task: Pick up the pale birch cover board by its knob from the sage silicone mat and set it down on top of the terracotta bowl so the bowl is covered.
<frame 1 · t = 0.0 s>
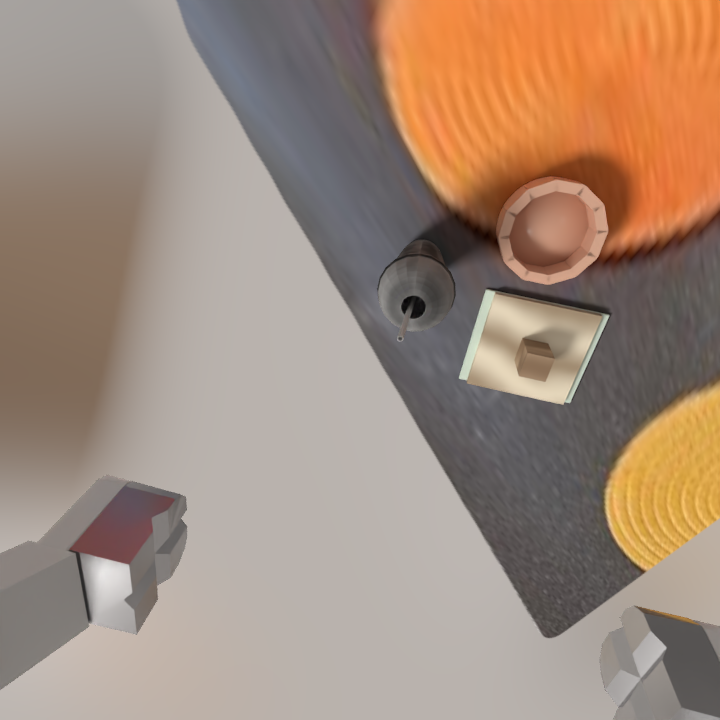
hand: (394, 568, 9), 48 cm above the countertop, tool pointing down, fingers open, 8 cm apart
bowl: (544, 226, 51), on the countertop
mat: (529, 347, 57), on the countertop
cover: (529, 348, 57), resting on mat
beverage cup: (421, 258, 55), on the countertop
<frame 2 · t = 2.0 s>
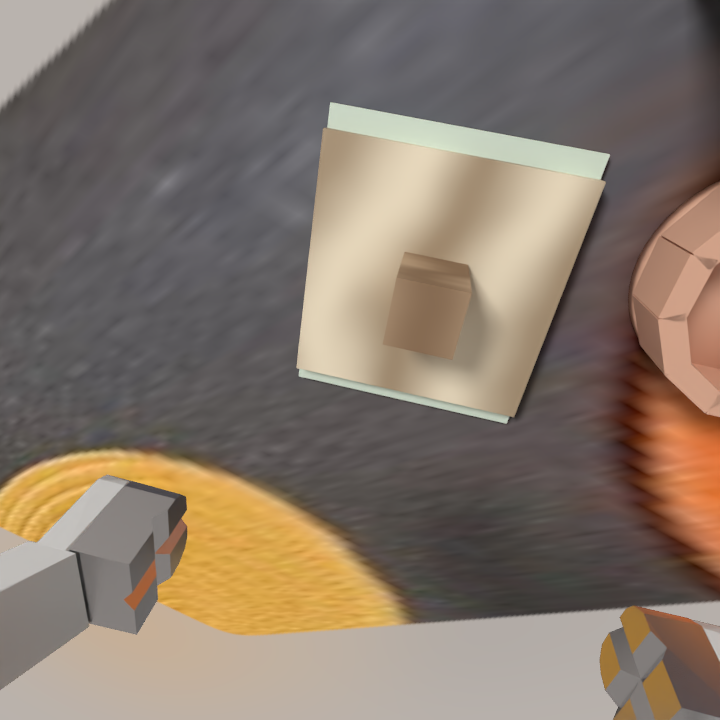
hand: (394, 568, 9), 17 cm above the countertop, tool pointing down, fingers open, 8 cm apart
mat: (429, 280, 24), on the countertop
cover: (429, 283, 23), resting on mat
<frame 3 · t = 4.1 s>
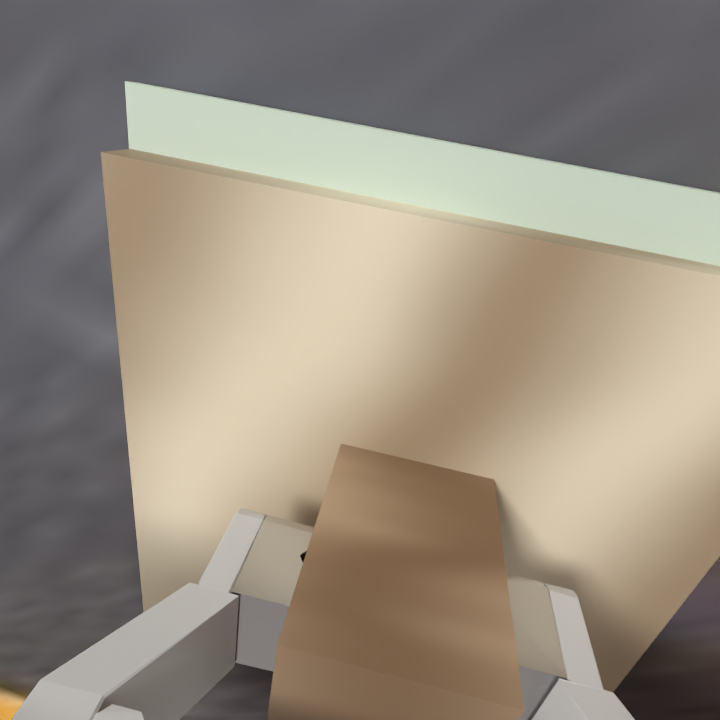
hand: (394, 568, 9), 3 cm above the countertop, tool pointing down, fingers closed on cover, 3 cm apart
mat: (404, 477, 11), on the countertop
cover: (403, 489, 11), resting on mat, touching gripper
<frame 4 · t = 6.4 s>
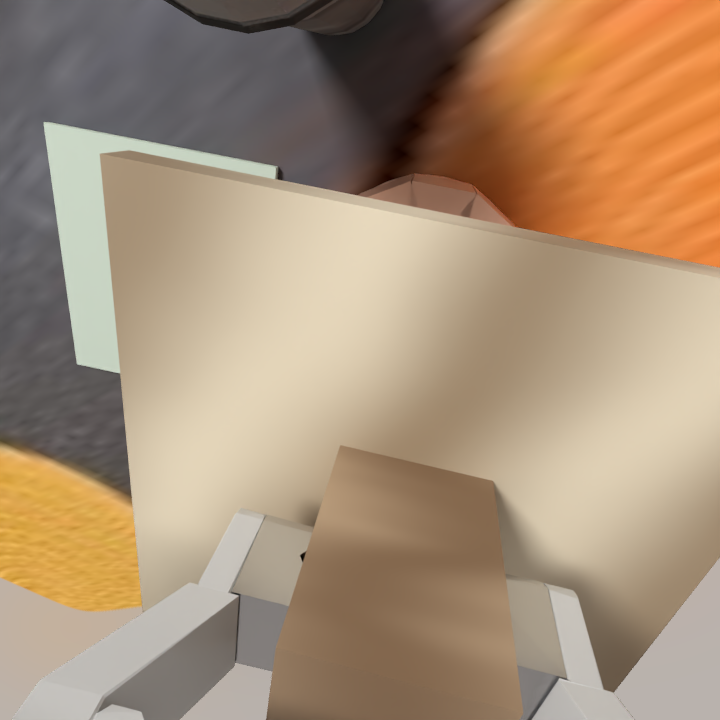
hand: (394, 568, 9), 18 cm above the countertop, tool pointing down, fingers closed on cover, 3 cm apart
bowl: (419, 275, 25), on the countertop
mat: (166, 276, 27), on the countertop
cover: (403, 490, 11), point 16 cm above the countertop, touching gripper
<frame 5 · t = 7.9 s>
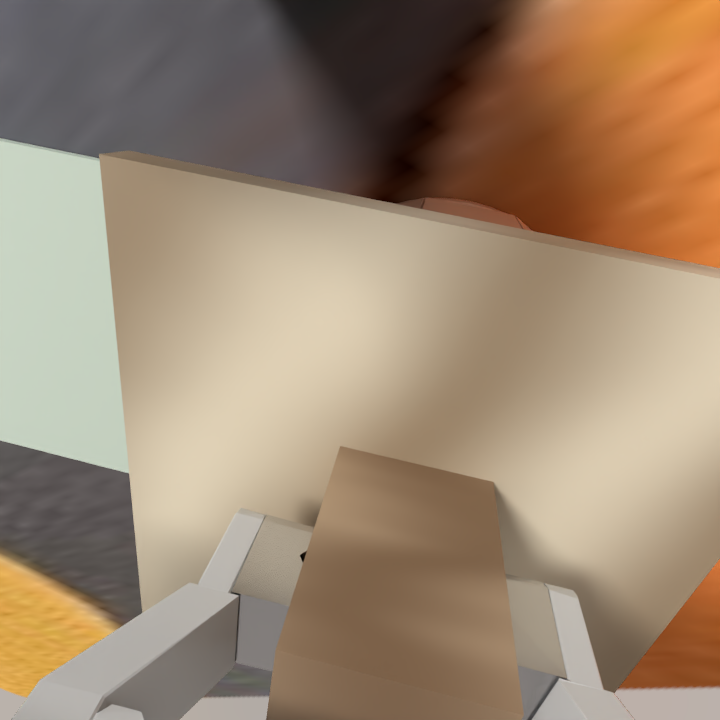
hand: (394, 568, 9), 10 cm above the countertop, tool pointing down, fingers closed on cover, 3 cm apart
bowl: (431, 341, 17), on the countertop
mat: (83, 331, 20), on the countertop
cover: (403, 491, 11), point 8 cm above the countertop, touching gripper
when the fingers open (8 cm above the countertop, at t = 8.9 s): cover drops 1 cm, resting on bowl.
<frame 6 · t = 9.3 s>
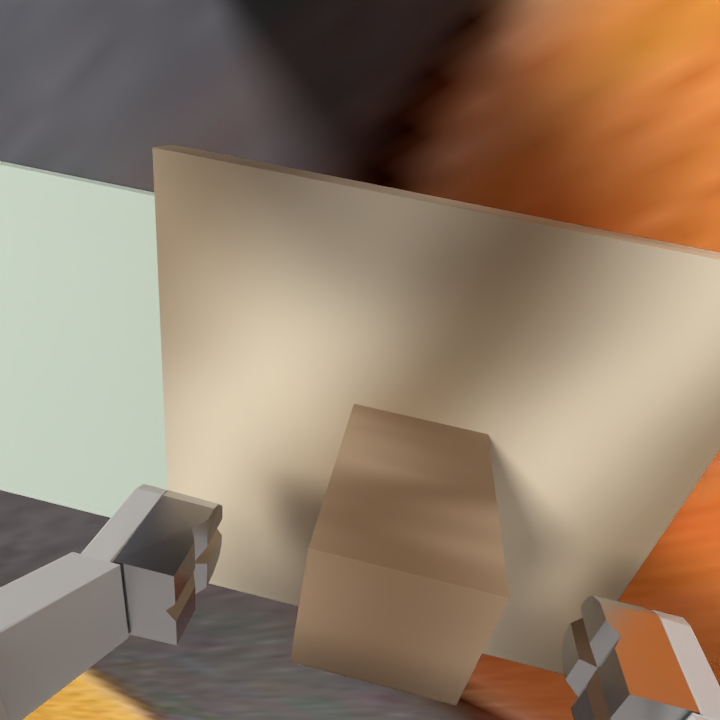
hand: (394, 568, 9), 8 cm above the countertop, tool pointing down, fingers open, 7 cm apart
mat: (29, 359, 18), on the countertop
cover: (408, 449, 12), point 4 cm above the countertop, touching bowl
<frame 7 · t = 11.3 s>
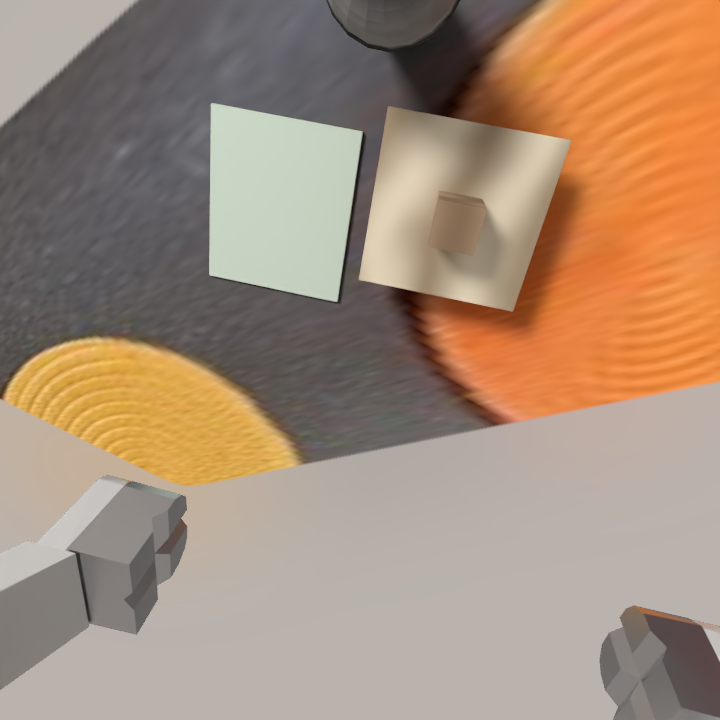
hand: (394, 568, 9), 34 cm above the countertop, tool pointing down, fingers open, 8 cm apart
mat: (280, 209, 40), on the countertop
cover: (454, 214, 34), point 4 cm above the countertop, touching bowl
beverage cup: (408, 9, 33), on the countertop
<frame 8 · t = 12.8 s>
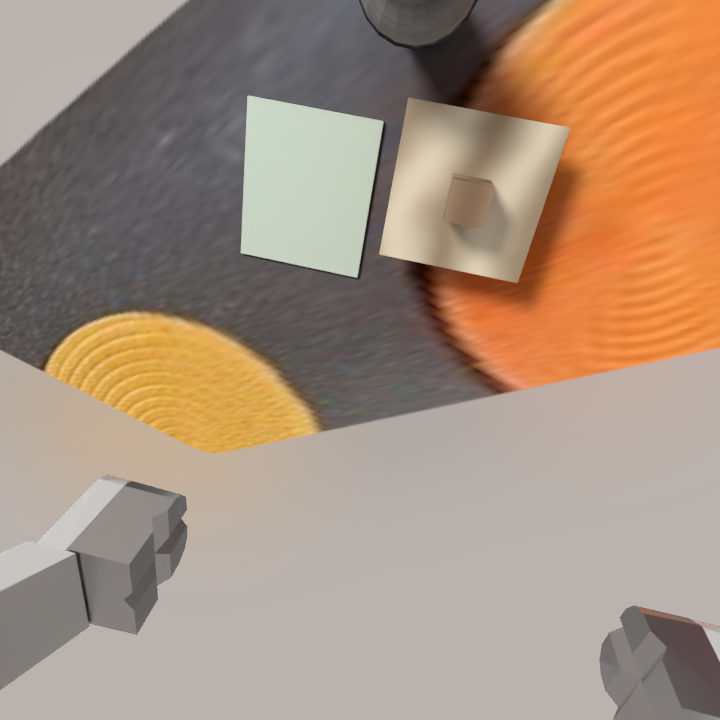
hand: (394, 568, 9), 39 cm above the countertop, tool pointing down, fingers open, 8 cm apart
mat: (307, 192, 44), on the countertop
cover: (466, 194, 38), point 4 cm above the countertop, touching bowl
beverage cup: (426, 11, 37), on the countertop
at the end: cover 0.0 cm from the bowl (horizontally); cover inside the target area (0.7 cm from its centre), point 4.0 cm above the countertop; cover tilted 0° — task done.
